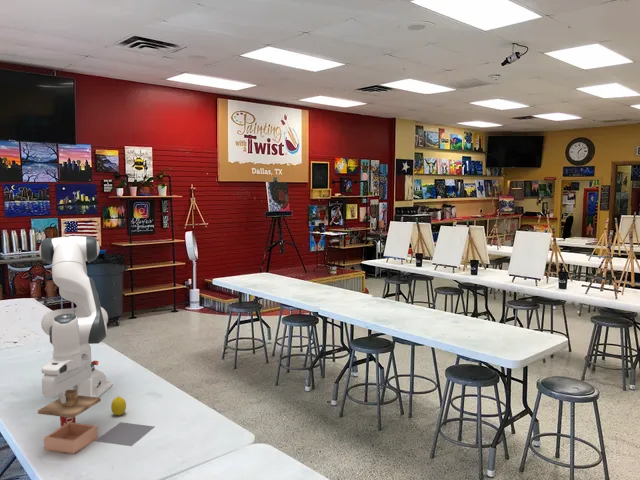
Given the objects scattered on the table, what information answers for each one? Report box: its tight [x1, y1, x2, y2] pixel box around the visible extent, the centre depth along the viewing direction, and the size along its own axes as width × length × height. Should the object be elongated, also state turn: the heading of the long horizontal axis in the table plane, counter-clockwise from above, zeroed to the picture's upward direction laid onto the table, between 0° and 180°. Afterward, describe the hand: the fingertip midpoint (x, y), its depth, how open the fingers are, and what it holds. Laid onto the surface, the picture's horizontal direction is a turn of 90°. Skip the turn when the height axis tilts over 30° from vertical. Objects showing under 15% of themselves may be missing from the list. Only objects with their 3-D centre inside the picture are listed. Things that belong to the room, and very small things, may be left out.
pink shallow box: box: [43, 422, 99, 456], centre depth 180 cm, size 12×12×5 cm
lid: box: [37, 389, 101, 418], centre depth 178 cm, size 14×14×6 cm
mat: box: [94, 422, 156, 447], centre depth 187 cm, size 15×15×1 cm
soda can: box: [59, 416, 77, 427], centre depth 190 cm, size 5×5×12 cm
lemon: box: [110, 396, 127, 416], centre depth 202 cm, size 6×6×8 cm
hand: (69, 399), depth 178 cm, fingers closed on lid, 4 cm apart
